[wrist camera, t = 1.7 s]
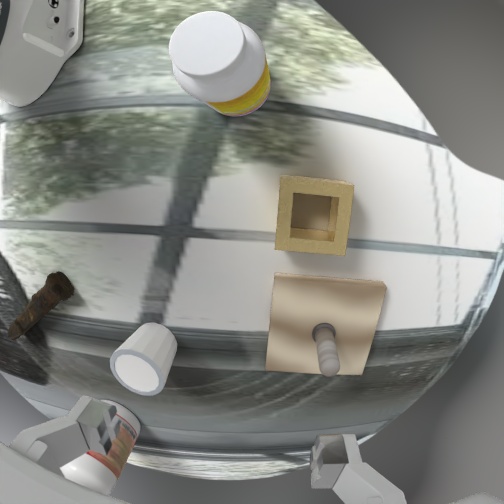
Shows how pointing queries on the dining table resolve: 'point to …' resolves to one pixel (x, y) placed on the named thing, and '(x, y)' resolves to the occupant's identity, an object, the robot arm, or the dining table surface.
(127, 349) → the shot glass
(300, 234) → the tan square frame block
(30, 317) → the hand tool
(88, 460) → the fruit juice
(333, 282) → the post stand
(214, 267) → the dining table surface
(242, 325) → the dining table surface
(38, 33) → the robot arm
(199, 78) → the supplement bottle
